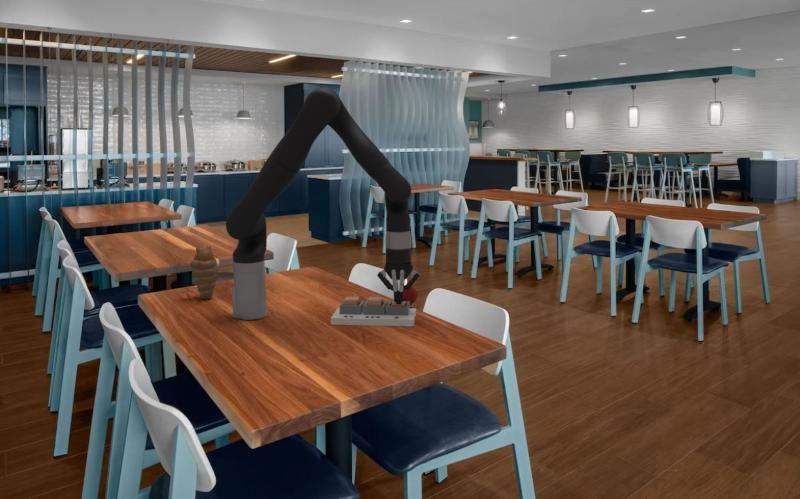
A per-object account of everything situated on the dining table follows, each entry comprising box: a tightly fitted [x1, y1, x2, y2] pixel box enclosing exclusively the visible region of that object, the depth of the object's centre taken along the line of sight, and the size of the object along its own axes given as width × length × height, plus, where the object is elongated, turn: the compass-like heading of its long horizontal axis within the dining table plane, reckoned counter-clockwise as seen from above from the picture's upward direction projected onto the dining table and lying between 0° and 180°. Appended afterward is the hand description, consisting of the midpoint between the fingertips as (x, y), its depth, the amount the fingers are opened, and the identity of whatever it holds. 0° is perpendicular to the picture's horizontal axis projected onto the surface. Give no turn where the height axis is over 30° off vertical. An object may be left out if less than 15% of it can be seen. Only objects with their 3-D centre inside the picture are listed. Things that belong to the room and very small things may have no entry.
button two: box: [344, 296, 361, 305], centre depth 181 cm, size 4×4×2 cm
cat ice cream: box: [190, 245, 219, 300], centre depth 203 cm, size 9×8×18 cm
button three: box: [366, 296, 384, 306], centre depth 180 cm, size 4×4×2 cm
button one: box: [391, 300, 406, 306], centre depth 180 cm, size 4×4×2 cm
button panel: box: [330, 300, 417, 327], centre depth 179 cm, size 24×12×4 cm, turn 85°
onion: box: [403, 281, 419, 306], centre depth 194 cm, size 6×6×8 cm
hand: (398, 303), depth 179 cm, fingers closed
